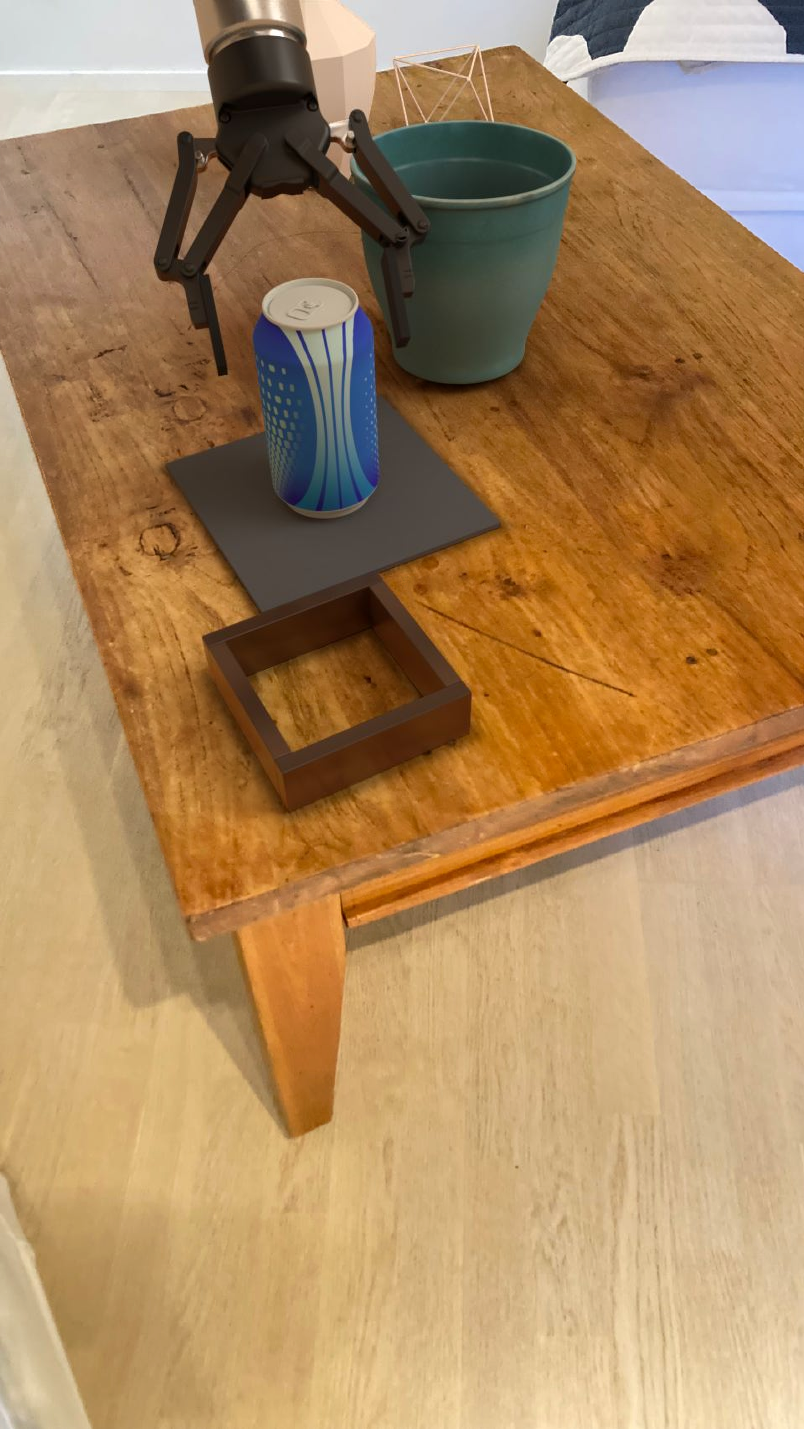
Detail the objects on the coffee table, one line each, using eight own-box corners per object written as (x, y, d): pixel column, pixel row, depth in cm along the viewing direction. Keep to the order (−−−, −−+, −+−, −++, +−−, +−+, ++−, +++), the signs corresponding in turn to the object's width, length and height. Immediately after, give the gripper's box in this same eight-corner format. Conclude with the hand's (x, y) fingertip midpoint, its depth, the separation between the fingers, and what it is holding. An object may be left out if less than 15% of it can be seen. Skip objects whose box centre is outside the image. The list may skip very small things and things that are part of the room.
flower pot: (346, 403, 91) (336, 196, 79) (367, 307, 103) (361, 116, 91) (557, 410, 90) (581, 203, 78) (552, 313, 102) (572, 120, 90)
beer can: (262, 472, 86) (234, 284, 73) (360, 449, 87) (349, 262, 75) (290, 536, 80) (266, 345, 68) (394, 510, 82) (388, 319, 70)
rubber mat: (165, 468, 87) (164, 463, 87) (380, 398, 93) (380, 393, 93) (263, 617, 76) (262, 612, 75) (500, 527, 81) (501, 522, 81)
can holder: (210, 676, 72) (200, 635, 69) (378, 611, 76) (376, 569, 73) (289, 813, 65) (282, 774, 62) (470, 733, 68) (472, 692, 65)
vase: (235, 167, 124) (201, -94, 105) (340, 138, 129) (325, -117, 110) (294, 213, 116) (269, -61, 97) (403, 180, 121) (399, -87, 102)
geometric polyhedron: (501, 126, 130) (505, 43, 123) (493, 163, 123) (496, 77, 116) (401, 123, 132) (399, 40, 125) (388, 159, 125) (385, 74, 118)
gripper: (418, 66, 81) (467, 345, 83) (91, 107, 78) (150, 395, 80) (433, 8, 74) (487, 316, 76) (73, 51, 71) (139, 370, 73)
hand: (314, 357), depth 78 cm, fingers open, 13 cm apart
